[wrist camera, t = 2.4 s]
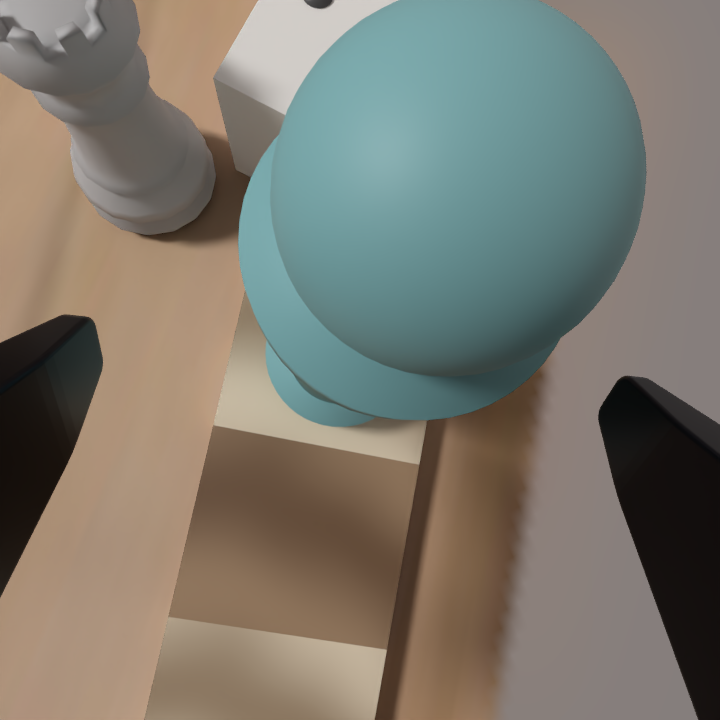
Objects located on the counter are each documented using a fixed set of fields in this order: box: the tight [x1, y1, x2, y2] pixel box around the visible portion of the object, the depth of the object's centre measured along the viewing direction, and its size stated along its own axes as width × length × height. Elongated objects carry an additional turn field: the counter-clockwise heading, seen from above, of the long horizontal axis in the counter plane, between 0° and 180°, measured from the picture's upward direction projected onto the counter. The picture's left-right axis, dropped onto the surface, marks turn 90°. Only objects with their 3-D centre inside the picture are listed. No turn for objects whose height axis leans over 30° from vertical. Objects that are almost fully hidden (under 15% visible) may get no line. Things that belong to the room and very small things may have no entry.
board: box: [144, 291, 427, 720], centre depth 16 cm, size 24×7×1 cm, turn 169°
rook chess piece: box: [0, 0, 216, 235], centre depth 14 cm, size 4×4×8 cm
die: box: [213, 0, 398, 177], centre depth 16 cm, size 5×5×5 cm
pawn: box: [238, 0, 646, 427], centre depth 10 cm, size 5×5×14 cm
